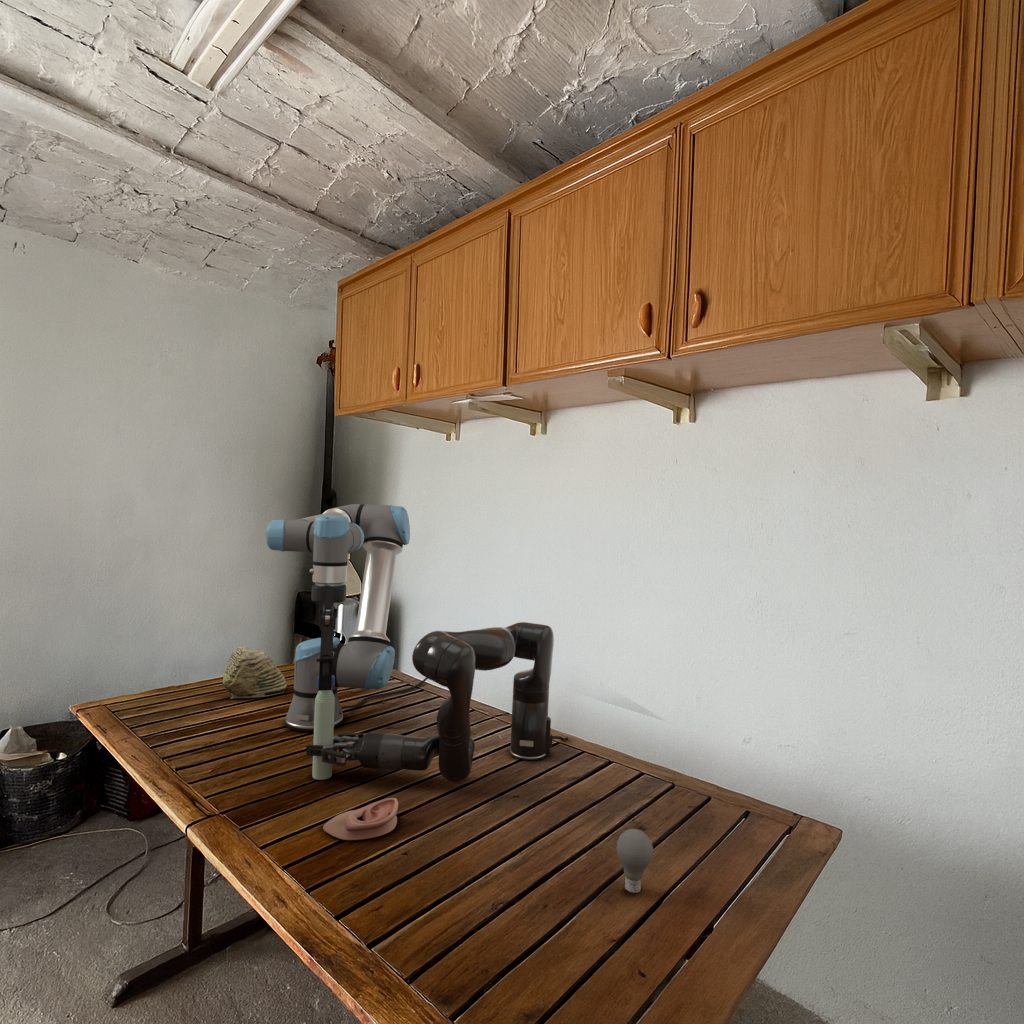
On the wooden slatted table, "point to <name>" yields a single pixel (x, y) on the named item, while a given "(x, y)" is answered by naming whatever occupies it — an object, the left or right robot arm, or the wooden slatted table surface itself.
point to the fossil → (252, 674)
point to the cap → (332, 681)
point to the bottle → (323, 731)
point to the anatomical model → (364, 821)
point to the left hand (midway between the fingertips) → (325, 685)
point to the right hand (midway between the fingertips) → (311, 745)
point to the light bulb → (634, 857)
